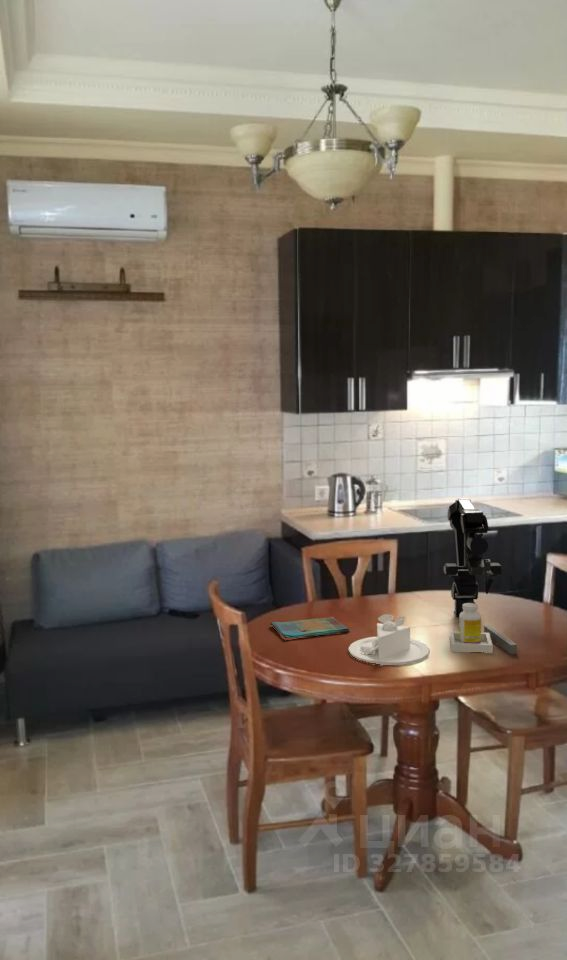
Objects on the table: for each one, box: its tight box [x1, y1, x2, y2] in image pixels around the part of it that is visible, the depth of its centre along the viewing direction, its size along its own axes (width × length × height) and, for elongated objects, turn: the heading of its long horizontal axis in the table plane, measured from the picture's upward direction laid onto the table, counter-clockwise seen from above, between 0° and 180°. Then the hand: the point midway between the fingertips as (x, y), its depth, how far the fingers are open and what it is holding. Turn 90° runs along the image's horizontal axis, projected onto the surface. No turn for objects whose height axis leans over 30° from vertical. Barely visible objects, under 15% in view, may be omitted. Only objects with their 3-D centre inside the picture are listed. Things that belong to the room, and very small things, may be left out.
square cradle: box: [449, 631, 494, 654], centre depth 250 cm, size 12×12×2 cm
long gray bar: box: [483, 624, 518, 655], centre depth 252 cm, size 20×2×3 cm, turn 9°
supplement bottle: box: [458, 603, 482, 644], centre depth 250 cm, size 7×7×13 cm
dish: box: [348, 613, 430, 667], centre depth 247 cm, size 25×25×11 cm
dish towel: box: [270, 616, 351, 638], centre depth 271 cm, size 17×23×2 cm
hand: (472, 594), depth 266 cm, fingers open, 9 cm apart
